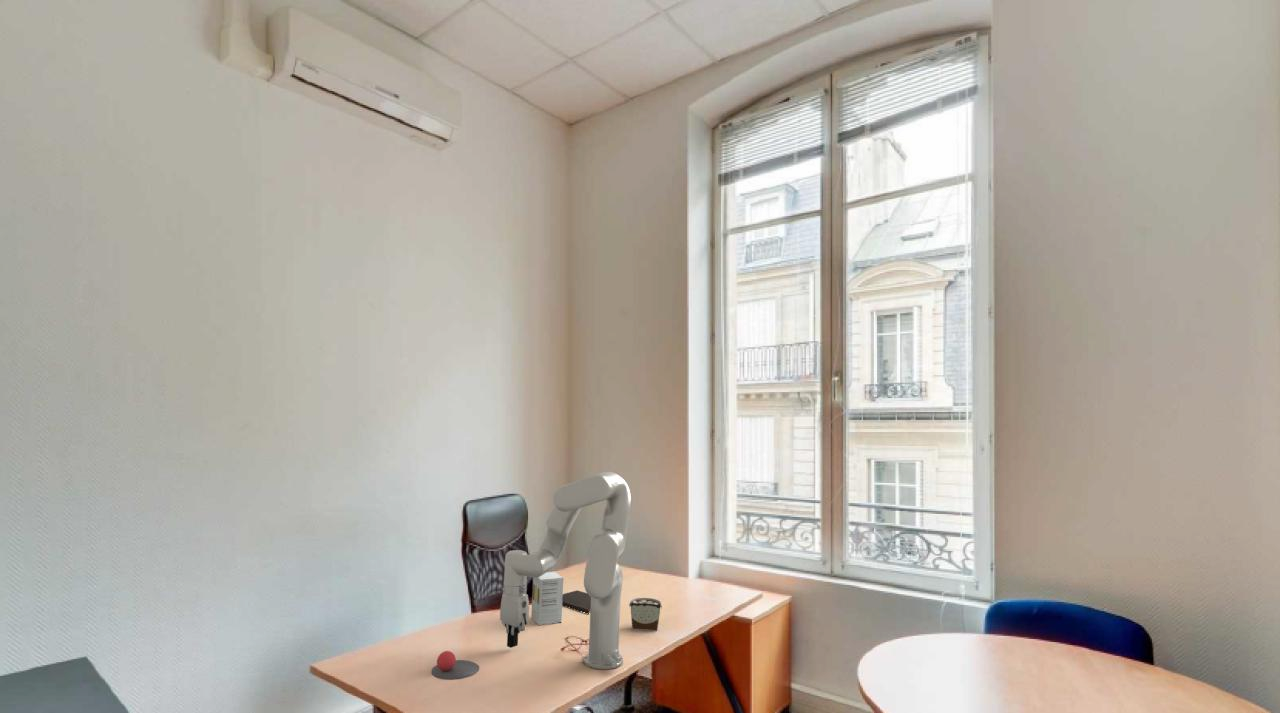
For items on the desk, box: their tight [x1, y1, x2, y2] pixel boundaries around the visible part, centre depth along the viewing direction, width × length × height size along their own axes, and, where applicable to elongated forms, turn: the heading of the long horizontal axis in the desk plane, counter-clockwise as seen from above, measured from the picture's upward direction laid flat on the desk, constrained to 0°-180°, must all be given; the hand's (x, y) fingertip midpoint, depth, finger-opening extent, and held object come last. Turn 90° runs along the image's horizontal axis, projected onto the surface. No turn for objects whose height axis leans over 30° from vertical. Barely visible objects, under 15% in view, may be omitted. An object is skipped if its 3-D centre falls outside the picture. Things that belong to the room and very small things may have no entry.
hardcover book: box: [562, 590, 591, 615], centre depth 266 cm, size 16×23×2 cm
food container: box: [628, 597, 663, 632], centre depth 240 cm, size 12×6×10 cm, turn 84°
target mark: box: [431, 659, 480, 680], centre depth 196 cm, size 14×14×1 cm
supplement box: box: [530, 571, 564, 626], centre depth 244 cm, size 10×9×17 cm
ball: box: [436, 650, 457, 671], centre depth 195 cm, size 6×6×6 cm
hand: (512, 646), depth 212 cm, fingers closed
